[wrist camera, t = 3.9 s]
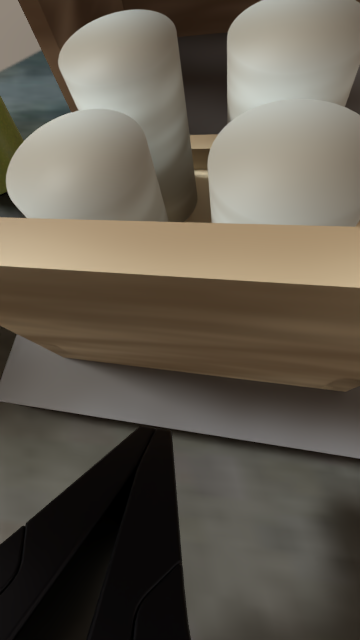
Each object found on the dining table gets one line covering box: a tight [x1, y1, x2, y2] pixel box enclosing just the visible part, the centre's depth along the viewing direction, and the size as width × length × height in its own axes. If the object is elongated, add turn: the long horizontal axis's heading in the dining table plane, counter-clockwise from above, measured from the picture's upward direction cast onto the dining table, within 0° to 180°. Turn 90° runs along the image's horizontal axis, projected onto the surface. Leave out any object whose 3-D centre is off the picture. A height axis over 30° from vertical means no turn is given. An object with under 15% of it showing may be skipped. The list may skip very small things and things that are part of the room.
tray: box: [0, 0, 360, 392], centre depth 12 cm, size 12×13×9 cm
